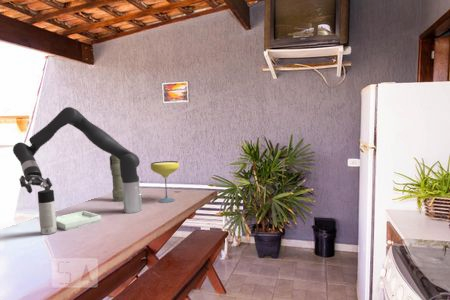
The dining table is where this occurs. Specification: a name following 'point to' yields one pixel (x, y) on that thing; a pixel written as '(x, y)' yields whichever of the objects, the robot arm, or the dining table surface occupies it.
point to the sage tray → (77, 220)
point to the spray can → (47, 212)
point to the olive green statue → (116, 179)
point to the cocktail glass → (165, 173)
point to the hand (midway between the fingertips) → (39, 192)
